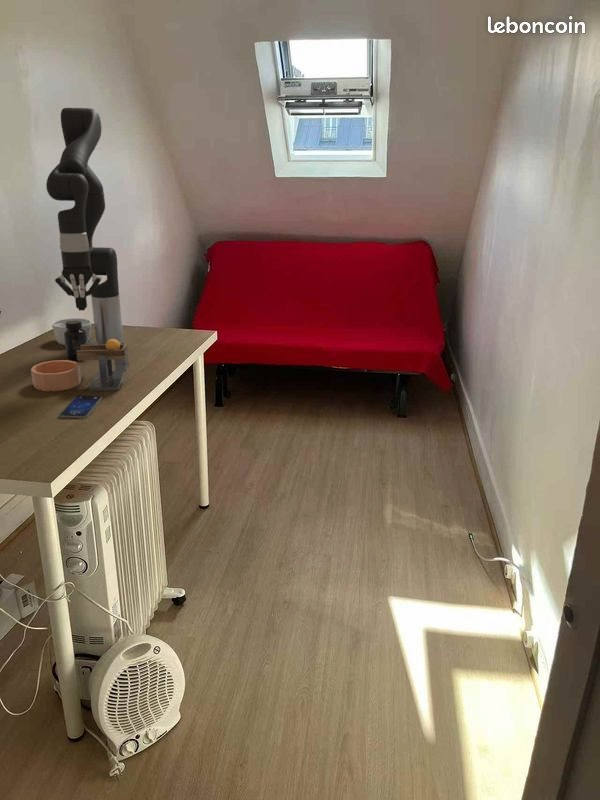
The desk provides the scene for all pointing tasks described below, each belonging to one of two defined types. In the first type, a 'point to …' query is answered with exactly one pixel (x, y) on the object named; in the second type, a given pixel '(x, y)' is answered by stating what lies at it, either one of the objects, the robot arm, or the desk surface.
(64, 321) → the white bowl
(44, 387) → the pink round bowl
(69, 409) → the smartphone
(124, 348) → the chute
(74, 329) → the supplement bottle
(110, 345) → the ball
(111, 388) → the chute stand
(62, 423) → the desk surface
